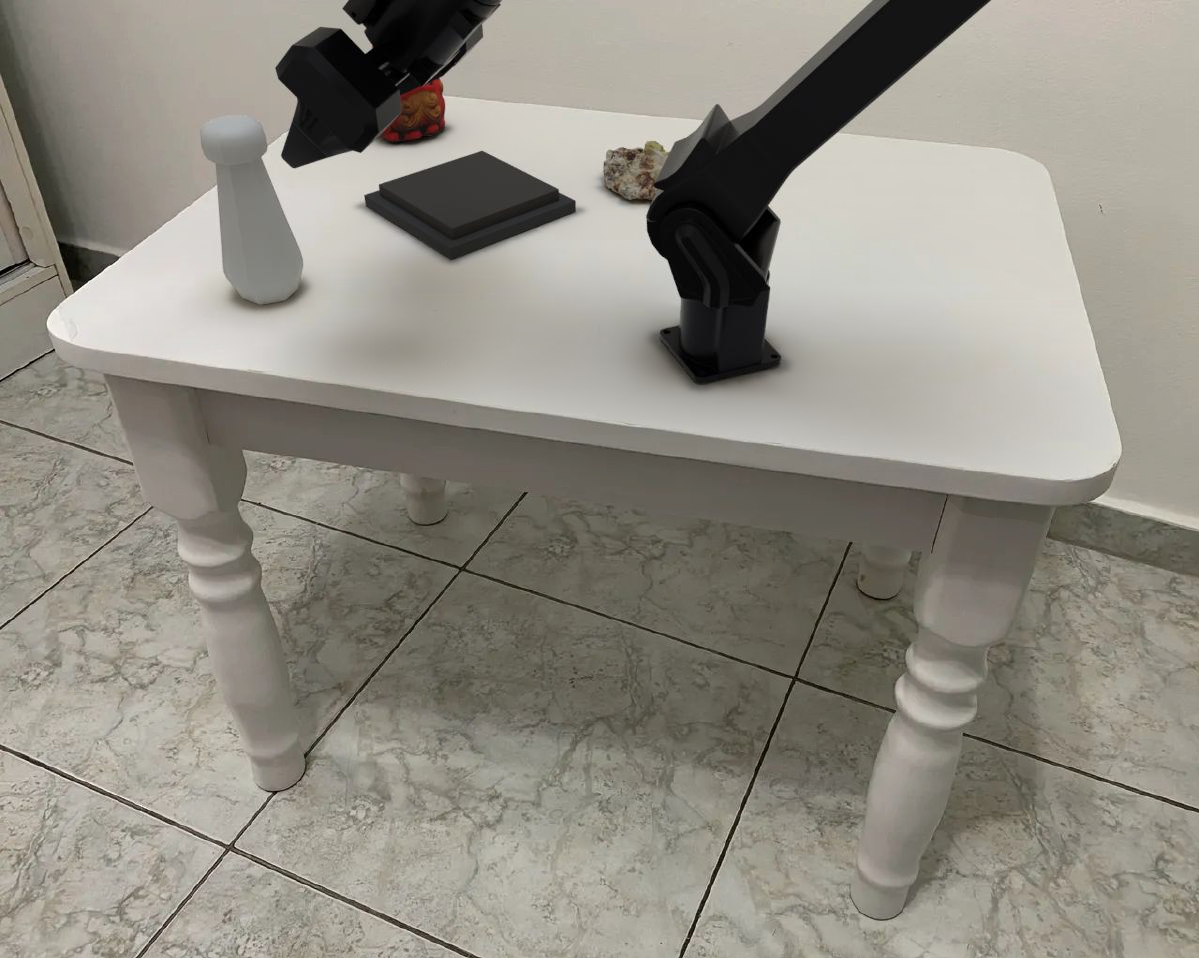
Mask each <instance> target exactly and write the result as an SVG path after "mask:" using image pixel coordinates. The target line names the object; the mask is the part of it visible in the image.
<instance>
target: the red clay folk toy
mask: <svg viewBox="0 0 1199 958" xmlns="http://www.w3.org/2000/svg"><path fill="white" fill-rule="evenodd" d="M372 48H374V47H373V46H372V45H371V49H372ZM443 93H444V83H443V82H442V80H441V77H440V78H438V79H436V80H434V81H432V82H430V83H427V84H425V85H424V86H423V87H422V86H421V87H418V88H416V89H414V90H412V91H410V92H408V93H406V94H403V95H401V96H400V99H401V107H402V112H401V113H400V114H399V116H398V117H397V118H396V119H395V120H394V121H393V122H392V123H391V124H390V125H389V127H388V128H387V129H386V130H385V131H384V132H383V133H382V134H381V135H380V137H382V138H383V139H384V140H386V141H387V142H392V143H397V142H405V141H414V140H415V141H416V140H419V139H421V138H422V137H433V136H435V135H437V134H439V133H441V132H442V131H443V130H445V128H446V120H445V114H446V101H445V98H444V95H443Z"/></svg>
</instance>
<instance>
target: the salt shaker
mask: <svg viewBox="0 0 1199 958" xmlns="http://www.w3.org/2000/svg"><path fill="white" fill-rule="evenodd" d="M199 136H200V138H199V139H200V146H201V149H202V152H203V155H204V157H205V158H206V159H207V160H208V161H211V162H212V163H213V164H215V176H216V188H217V189H216V191H217V202H218V203H217V204H218V205H217V206H218V218H219V219H218V220H219V232H220V233H219V234H220V245H221V261H222V262H221V263H222V264H221V265H222V272H223V274H224V277H225V279H226V280H227V281H228V282H229V283H230V284H231V286H232V287H233V288H234V289H235V291H236V292H237V293H238V294H239V296H240V297H241V298H242V299H243V300H246V301H249V302H251V303H254V304H256V305H259V306H261V305H268V304H274V303H278V302H279V303H280V302H285V301H286V300H288V299H290V297H291V296H293V294H294V293H296V292H297V291H298V290H299V287H300V282H301V278H302V274H303V269H304V259H303V254H302V251H301V249H300V246H299V244H298V242H297V239H296V237H295V234H294V232H293V230H292V228H291V225H290V223H289V221H288V219H287V216H286V214H285V211H284V209H283V207H282V204H281V202H280V199H279V196H278V194H277V192H276V190H275V187H274V185H273V182H272V180H271V178H270V175H269V173H268V170H267V168H266V165H265V163H264V160H263V158H262V157H263V156H264V155H265V154H266V153H267V152H268V142H267V135H266V132H265V129H264V127H263V125H262V123H261V122H260V121H259V120H257V119H256V118H254V117H252V116H250V115H247V114H226V115H222V116H217V117H215V118H212V119H209V120H208V121H206V122H205V123H204V125H202V127H201V128H200V130H199Z"/></svg>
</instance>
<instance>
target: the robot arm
mask: <svg viewBox="0 0 1199 958" xmlns="http://www.w3.org/2000/svg"><path fill="white" fill-rule="evenodd" d="M502 1H503V0H347V2H346V3H345V4H344V5H343V6H342V10H343V11H344V12H345V13H346V15H348V16H349V18H350V19H351V20H352V21H353V22H354V23H355V24H356V25H357V26H360V25H362V26H364V28H365V29H364V31H363V33H364V35H365V37H366V39H367V41H369V43H370V44H371V49H369V50H368V51H367V52H364V51H363V49H361V47H359V45H358V44H357V43H356V42H355V41H354V40H353V39H351V37H350V36H349V35H348V34H347V33H346V32H345V31H344V30H343V29H342V28H340V27H339V28H338V27H328V26H327V27H325V26H318V27H317V28H316V29H314V30H313V31H311V32H309V33H308V34H307V35H305V36H304V37H302V38H300V39H299V40H297V41H296V42H295V43H293V44H292V45H291V46H290V47H289V48H288V50H287V51H286V52H285V54H284V55H283V57H282V58H281V59H280V60H279V62H278V63H277V64H276V66H275V67H274V68H275V73H276V76H277V79H278V80H279V81H280V82H281V84H282V85H284V86H285V87H286V88H287V89H288V90H289V91H290V93H292V95H294V96H295V97H296V100H297V101H296V105H295V109H294V114H293V116H292V120H291V123H290V126H289V129H288V132H287V135H286V138H285V141H284V145H283V147H282V150H281V154H280V157H281V159H282V160H283V161H284V162H285V163H286V164H287V165H288V166H289V167H290V168H292V169H298V168H300V167H304V166H308V165H310V164H313V163H316V162H319V161H323V160H325V159H328V158H333V157H335V156H339V155H343V154H346V153H349V152H356V153H358V154H362V153H363V152H364V151H365V150H366V149H367V148H368V147H370V145H372V144H373V143H374V142H375V141H376V140H377V139H378V138H379V137H381V134H382V133H383V132H384V131H385V130H386V129H387V128H388V127H389V125H390V124H391V123H392V122H393V121H394V120H395V119H396V118H397V117H398V116H399V114H400V113H401V112H402V107H401V99H400V96H401V95H403V94H406V93H408V92H410V91H412V90H414V89H416V88H418V87H421V86H422V87H423V86H424V85H425V84H427V83H430V82H432V81H434V80H436V79H438V78H440V79H441V78H443V77H444V76H445V75H446V74H447V73H448V72H450V71H451V69H452V68H455V67H456V66H457V65H458V64H459V63H461V61H462V60H464V58H465V57H467V55H469V53H471V52H472V50H473V49H474V48H475V47H476V46H477V45H478V44H479V43H480V41H481V40H482V39H483V38H484V31H483V30H484V29H483V24H484V23H486V21H487V20H488V19H490V18H491V17H492V15H494V13H495V12H496V11H497V10H498V9H499V8H500V7H501V6H502V5H501V3H502ZM991 1H992V0H871V1H870V2H869V3H868V4H867V5H866V6H865V7H864V8H862V9H861V11H860V12H858V13H857V14H856V15H855V16H854V17H853V18H852V19H851V20H850V21H849V22H848V23H847V24H845V26H843V27H842V28H841V29H840V30H839V31H838V32H836V34H835V35H834V36H832V38H831V39H829V40H828V41H827V42H826V43H825V44H824V45H823V46H822V47H821V48H820V49H819V50H818V51H816V53H815V54H813V56H811V57H810V58H809V59H808V60H807V61H806V62H805V63H804V64H803V65H801V67H800V68H798V69H797V70H796V72H794V73H793V74H792V75H791V76H790V77H789V78H788V79H787V80H786V81H785V82H784V83H782V84H781V85H780V87H778V88H777V89H776V90H775V91H774V92H773V93H771V95H770V96H769V97H768V98H766V99H765V100H764V101H763V102H762V103H761V104H759V106H757V107H755V108H754V109H752V110H751V111H748V112H746V113H743V114H741V115H740V116H737V117H736V118H733V119H731V120H730V118H729V116H728V115H727V114H726V112H725V111H724V109H723V108H722V106H721V105H720V104H719V103H716V104H715V105H714V106H713V107H712V108H711V110H710V111H709V112H708V114H707V115H706V116H705V118H704V119H703V120H702V122H701V123H700V125H699V126H698V127H697V128H696V129H695V130H694V131H693V132H692V133H690V134H689V135H688V136H686V137H684V138H681V139H679V140H676V141H674V143H673V145H672V147H671V149H670V150H669V152H670V153H669V155H668V157H667V159H666V161H665V163H664V165H663V167H662V169H661V171H660V173H659V175H658V177H657V179H656V181H655V183H654V187H655V188H656V189H658V190H657V192H656V195H655V197H654V199H653V200H651V203H650V205H649V207H648V210H647V212H646V215H645V219H646V232H647V235H648V238H649V240H650V243H651V246H652V247H653V248H654V249H655V251H656V252H657V253H658V254H659V255H660V256H661V257H662V258H664V260H666V261H667V263H668V266H669V269H670V272H671V275H672V278H673V280H674V285H675V287H676V291H677V292H678V295H679V298H680V308H679V325H675V326H669V327H665V328H662V329H660V331H659V339H660V340H661V341H662V343H663V344H664V345H665V346H666V347H667V349H668V350H669V352H671V354H672V356H673V357H674V358H675V359H676V360H677V361H678V362H679V363H680V365H681V366H682V367H683V368H684V370H685V371H686V373H687V374H688V375H689V376H690V377H691V379H692V380H693V381H694V382H696V383H701V384H703V383H707V382H712V381H716V380H720V379H725V378H730V377H733V376H734V377H735V376H738V375H743V374H747V373H751V372H755V371H759V370H763V369H767V368H772V367H777V366H779V365H781V364H782V363H781V362H782V355H781V354H780V353H779V352H778V350H776V349H775V347H774V346H773V345H772V344H770V342H769V341H768V340H767V339H766V338H765V336H766V327H767V319H768V311H769V302H770V294H771V286H770V278H771V271H770V266H771V262H772V258H773V255H774V251H775V246H776V243H777V239H778V235H779V232H780V227H781V224H782V221H781V218H780V217H779V216H778V215H777V213H776V212H775V211H774V210H773V209H772V208H771V207H770V206H769V205H770V204H771V202H772V201H773V200H774V198H775V197H776V196H777V194H778V192H779V191H780V190H781V188H782V186H783V185H784V184H785V182H786V181H787V179H788V178H789V176H791V174H792V173H793V172H794V171H795V170H796V169H797V168H798V167H799V166H800V165H801V164H803V163H804V162H805V161H806V160H807V159H809V158H810V157H811V156H812V155H813V154H815V152H817V151H818V150H819V149H820V148H822V146H824V145H825V144H826V143H827V142H828V141H829V140H831V139H832V138H833V137H834V136H835V135H836V134H838V133H839V132H840V131H841V130H842V129H844V128H845V127H846V126H847V125H848V124H849V123H850V122H851V121H853V120H854V119H855V118H856V117H857V116H858V115H860V114H861V113H862V112H863V111H864V110H865V109H867V108H868V107H869V106H870V105H872V104H873V103H874V102H875V101H876V100H877V99H878V98H879V97H881V96H882V95H883V94H884V93H885V92H887V91H888V90H889V89H890V88H891V87H892V86H893V85H894V84H896V83H897V82H898V81H899V80H900V79H902V78H903V77H904V76H906V74H907V73H908V72H909V71H911V70H912V69H913V68H914V67H916V66H917V65H918V64H919V63H920V62H921V61H922V60H924V59H925V58H926V57H927V56H929V54H930V53H932V52H934V50H935V49H936V48H937V47H938V46H939V47H940V45H941V44H942V43H944V42H945V41H946V40H947V39H949V37H951V35H953V34H954V33H955V32H956V31H957V30H959V29H960V28H961V27H962V26H963V25H964V24H966V23H967V22H968V21H969V20H970V19H972V17H974V16H975V15H976V14H977V13H978V12H980V11H981V10H982V9H983V8H984V7H986V6H987V4H989V3H990V2H991ZM372 46H373V47H374V48H372Z"/></svg>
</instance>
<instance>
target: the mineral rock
mask: <svg viewBox="0 0 1199 958" xmlns="http://www.w3.org/2000/svg"><path fill="white" fill-rule="evenodd" d="M669 153H670V151H666V149H665V148H664V145H662V144H660V143H659V142H657V141H656V140H648V141H646V142H645V144H644V148H643V147H635V148H626V147H624V146H622V147H618V148H616V149H614V150H613V149H610V148H609V149H608V150H606V152H605V160H604V161H603V165H602V166H603V167H602V169H603V170H602V171H603V178H604V180H603V181H604V182H603V183H604V184H605V186H606V187H607V188H608V189H611V191H613V192H615V193H617V194H619V195H621V196H622V197H623V198H624V199H626V200H628V201H632V200H635V199H636V200H648V201H649V200H651V201H653V199H654V197H655V195H656V192H657V190H658V189H656V188H655V187H654V183H655V181H656V179H657V177H658V175H659V173H660V171H661V169H662V167H663V165H664V163H665V161H666V159H667V157H668V155H669Z"/></svg>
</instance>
